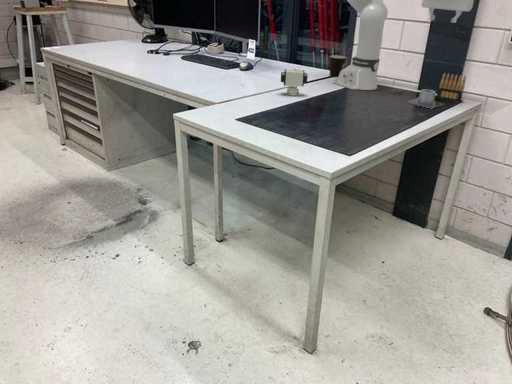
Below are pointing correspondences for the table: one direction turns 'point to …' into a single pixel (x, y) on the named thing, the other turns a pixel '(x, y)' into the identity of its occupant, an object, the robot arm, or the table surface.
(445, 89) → the ammunition clip
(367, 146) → the table surface
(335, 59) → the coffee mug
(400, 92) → the table surface
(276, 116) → the table surface
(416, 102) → the shaft stand
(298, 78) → the pneumatic valve
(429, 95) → the hub
